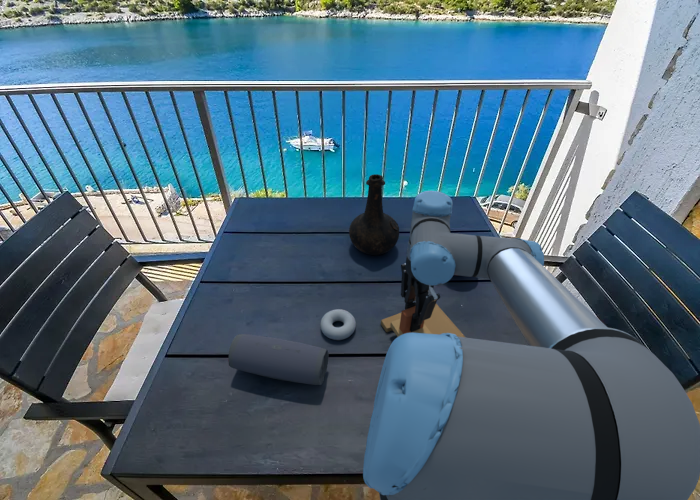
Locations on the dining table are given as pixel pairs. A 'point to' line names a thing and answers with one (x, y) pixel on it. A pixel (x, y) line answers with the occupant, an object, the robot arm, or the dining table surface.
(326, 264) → the dining table surface
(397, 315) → the base pad
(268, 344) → the bluetooth speaker
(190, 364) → the dining table surface
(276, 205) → the dining table surface
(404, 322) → the open box
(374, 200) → the glass bottle
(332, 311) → the donut
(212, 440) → the dining table surface
